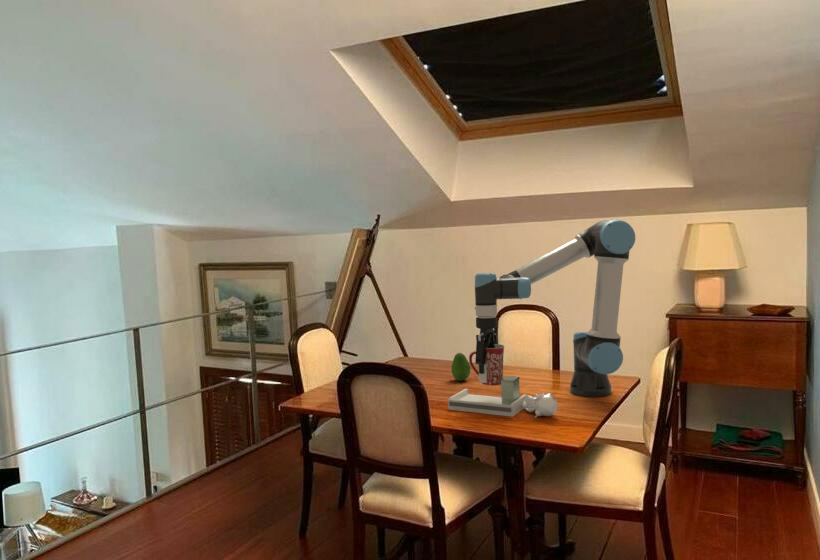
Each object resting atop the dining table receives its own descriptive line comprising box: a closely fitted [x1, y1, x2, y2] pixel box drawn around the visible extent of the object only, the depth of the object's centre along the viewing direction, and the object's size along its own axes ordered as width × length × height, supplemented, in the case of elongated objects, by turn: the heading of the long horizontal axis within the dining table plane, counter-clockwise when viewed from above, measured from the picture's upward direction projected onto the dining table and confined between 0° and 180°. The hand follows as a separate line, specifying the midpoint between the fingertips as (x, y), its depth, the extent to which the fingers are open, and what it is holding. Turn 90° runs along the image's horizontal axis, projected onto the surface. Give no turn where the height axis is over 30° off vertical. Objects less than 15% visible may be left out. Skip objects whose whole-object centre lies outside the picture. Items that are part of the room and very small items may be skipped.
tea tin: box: [500, 375, 521, 405], centre depth 214 cm, size 5×6×9 cm
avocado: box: [451, 352, 471, 382], centre depth 260 cm, size 8×8×12 cm
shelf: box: [447, 388, 528, 418], centre depth 218 cm, size 24×15×4 cm, turn 60°
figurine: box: [522, 391, 559, 419], centre depth 208 cm, size 11×7×15 cm
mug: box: [468, 343, 505, 386], centre depth 218 cm, size 13×9×14 cm
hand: (488, 379), depth 219 cm, fingers closed on mug, 9 cm apart
